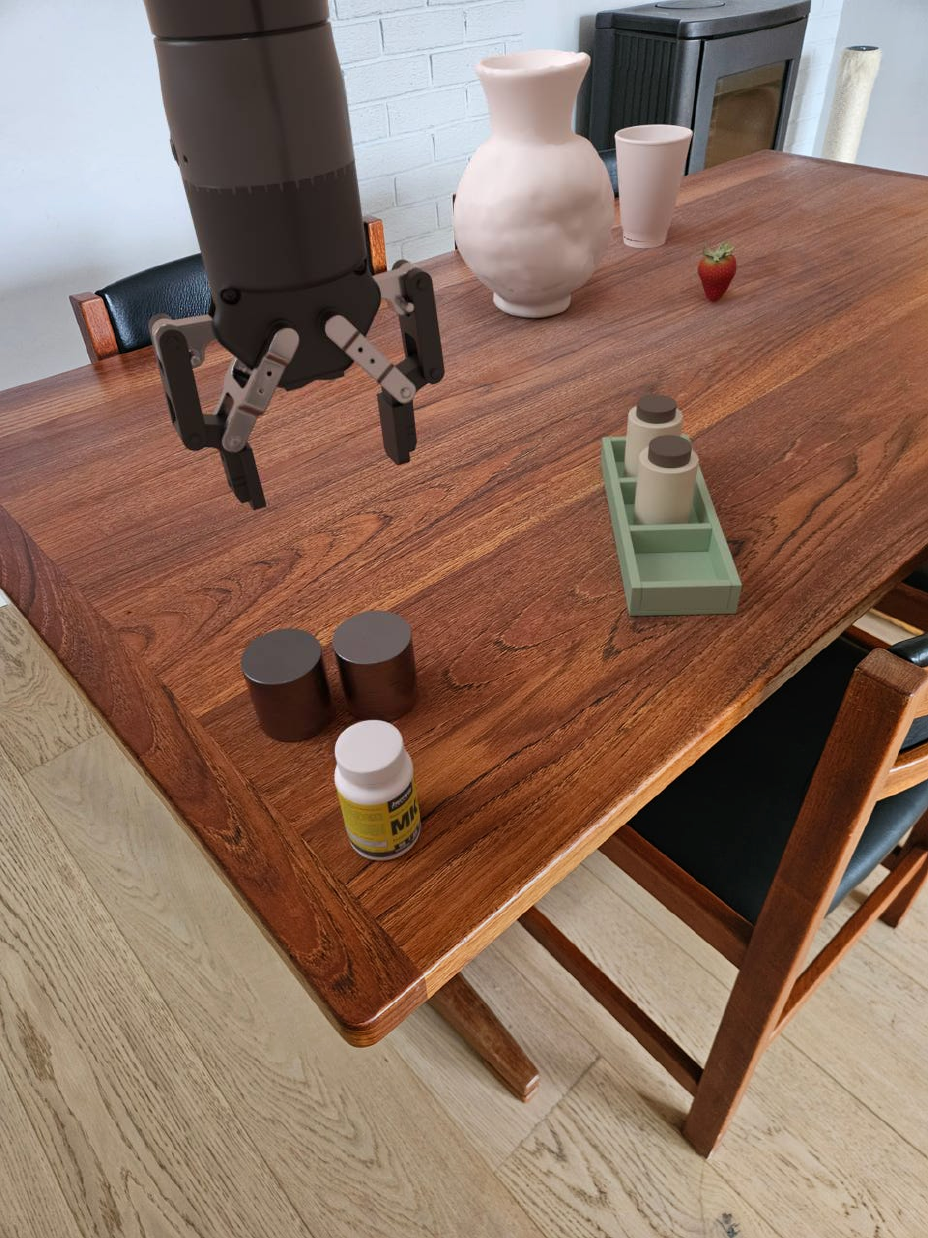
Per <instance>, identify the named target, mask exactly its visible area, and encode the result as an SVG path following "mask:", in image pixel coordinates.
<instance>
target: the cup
mask: <svg viewBox="0 0 928 1238" xmlns="http://www.w3.org/2000/svg"><path fill="white" fill-rule="evenodd" d="M693 134H694V132H693V130H692V129H690V128H688V127H685V126H682V125H681V126H680V125H672V124H643V125H635V126H630V127H625V128H622V129H620V130H617V131H616V132H615V134H614V140H615V155H616V169H617V185H618V186H617V187H618V200H619V215H620V227H621V228H622V234H623V235H622V236H623V237H622V238H623V239H622V240H623V244H624V245H625V246H626V247H627V246H628V247H630V248H634V249H654V248H658V247H662V246H663V245H665V244H666V242H667V235H668V232H669V228H670V227H671V226H672V222H673V218H674V214H675V210H676V205H677V201H678V197H679V193H680V192H679V191H680V187H681V184H682V179H683V175H684V171H685V167H686V162H687V158H688V153H689V149H690V145H691V141H692V137H693ZM624 236H625V237H626V238H629V239H632V240H637V241H638V240H639V241H651V240H658V239H661V238H664V237H665V236H666V238H664V239H662V240H659V241H654V242H635V241H630V240H627V239H626V238H624Z"/></svg>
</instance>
